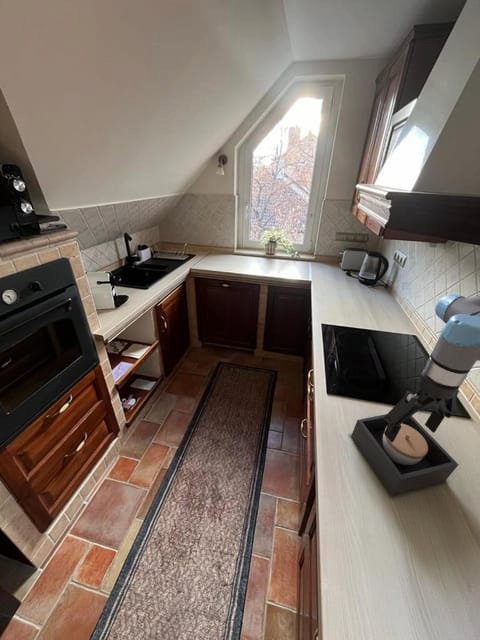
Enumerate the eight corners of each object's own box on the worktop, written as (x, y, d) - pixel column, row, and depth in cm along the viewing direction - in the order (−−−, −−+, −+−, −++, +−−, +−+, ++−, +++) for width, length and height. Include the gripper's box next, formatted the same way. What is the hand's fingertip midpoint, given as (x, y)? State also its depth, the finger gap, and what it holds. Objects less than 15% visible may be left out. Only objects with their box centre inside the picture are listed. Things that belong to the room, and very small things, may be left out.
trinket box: (374, 434, 82) (383, 415, 77) (410, 442, 80) (422, 422, 75) (382, 467, 73) (393, 448, 68) (423, 476, 71) (437, 457, 66)
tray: (397, 425, 86) (406, 410, 82) (445, 480, 71) (458, 464, 67) (351, 435, 82) (357, 419, 78) (390, 495, 67) (401, 479, 63)
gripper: (467, 359, 65) (434, 414, 76) (384, 373, 61) (362, 429, 71) (499, 379, 59) (458, 436, 70) (409, 397, 54) (380, 454, 65)
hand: (409, 432), depth 71 cm, fingers open, 13 cm apart
